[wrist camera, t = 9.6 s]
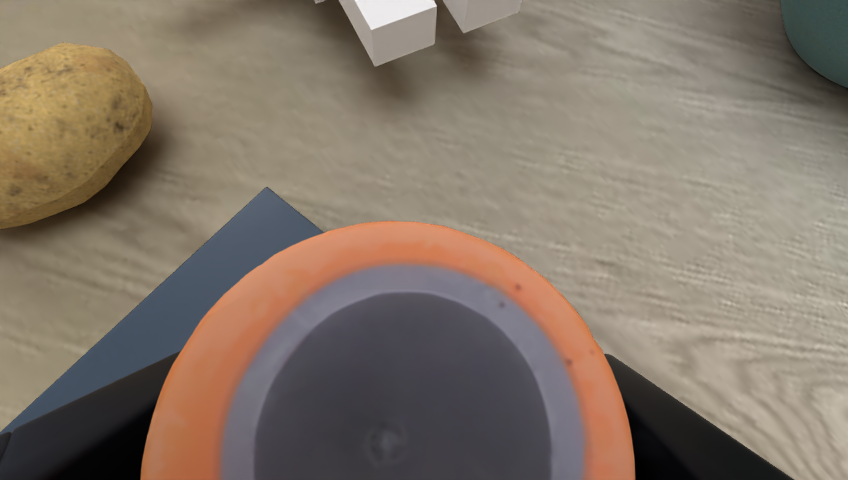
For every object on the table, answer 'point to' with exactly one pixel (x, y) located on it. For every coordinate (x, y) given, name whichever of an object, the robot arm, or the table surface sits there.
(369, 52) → the white voxel figure
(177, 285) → the blue lidded box
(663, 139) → the table surface
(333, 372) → the pill bottle
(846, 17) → the teal bowl
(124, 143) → the potato
